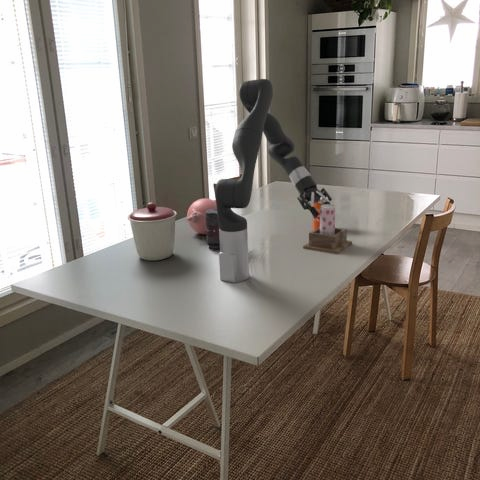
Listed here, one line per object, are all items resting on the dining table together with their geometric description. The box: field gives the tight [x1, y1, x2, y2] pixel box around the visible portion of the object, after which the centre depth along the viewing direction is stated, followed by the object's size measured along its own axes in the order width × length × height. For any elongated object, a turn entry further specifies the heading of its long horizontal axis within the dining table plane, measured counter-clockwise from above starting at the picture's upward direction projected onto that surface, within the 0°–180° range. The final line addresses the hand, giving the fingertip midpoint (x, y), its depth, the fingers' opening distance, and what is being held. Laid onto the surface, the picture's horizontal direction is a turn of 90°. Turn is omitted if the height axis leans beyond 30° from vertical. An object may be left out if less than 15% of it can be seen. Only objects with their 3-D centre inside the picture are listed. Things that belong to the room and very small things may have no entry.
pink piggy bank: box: [186, 198, 217, 236], centre depth 220 cm, size 15×20×15 cm
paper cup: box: [312, 197, 328, 230], centre depth 223 cm, size 8×8×14 cm
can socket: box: [302, 227, 353, 255], centre depth 201 cm, size 14×14×6 cm
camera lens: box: [205, 209, 220, 252], centre depth 203 cm, size 8×8×15 cm
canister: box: [127, 201, 178, 261], centre depth 195 cm, size 18×18×21 cm
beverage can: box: [320, 203, 336, 236], centre depth 200 cm, size 6×6×15 cm
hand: (324, 214), depth 199 cm, fingers open, 8 cm apart
